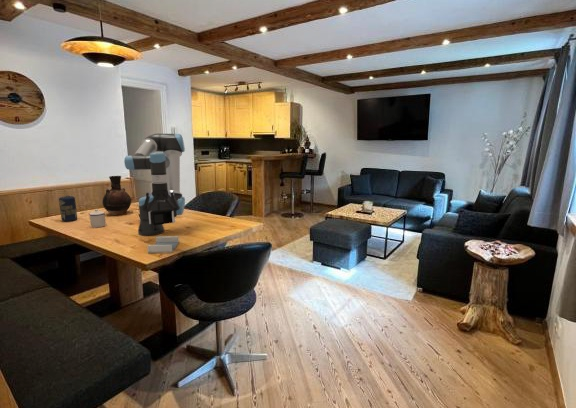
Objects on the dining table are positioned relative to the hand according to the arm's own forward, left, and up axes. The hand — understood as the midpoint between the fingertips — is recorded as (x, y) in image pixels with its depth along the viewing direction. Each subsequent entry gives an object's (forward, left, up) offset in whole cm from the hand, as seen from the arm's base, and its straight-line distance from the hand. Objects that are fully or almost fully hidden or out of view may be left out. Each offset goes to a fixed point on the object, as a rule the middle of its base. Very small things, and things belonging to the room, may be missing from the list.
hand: (162, 223), depth 170 cm
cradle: (0, 0, -14) cm, 14 cm away
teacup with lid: (-57, +48, -14) cm, 76 cm away
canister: (-83, +64, -14) cm, 106 cm away
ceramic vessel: (-57, +82, -14) cm, 101 cm away
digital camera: (0, +1, -1) cm, 1 cm away
